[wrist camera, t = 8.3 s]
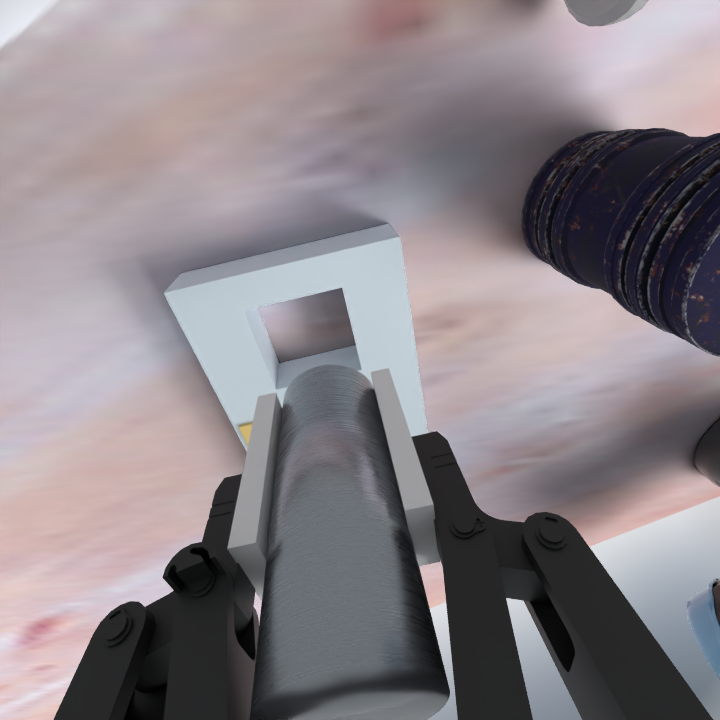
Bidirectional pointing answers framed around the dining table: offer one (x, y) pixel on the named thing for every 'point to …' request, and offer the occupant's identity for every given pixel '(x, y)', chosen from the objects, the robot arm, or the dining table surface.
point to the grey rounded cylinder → (341, 569)
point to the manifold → (291, 281)
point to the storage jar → (636, 224)
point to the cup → (603, 10)
